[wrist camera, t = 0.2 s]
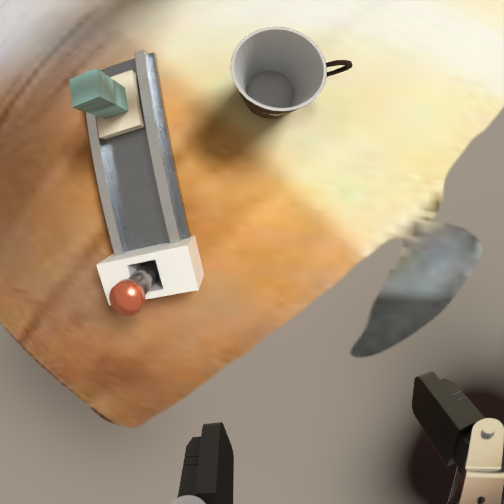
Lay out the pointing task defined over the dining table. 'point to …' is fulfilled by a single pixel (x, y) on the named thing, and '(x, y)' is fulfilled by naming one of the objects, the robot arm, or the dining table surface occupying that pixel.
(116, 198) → the rail bed
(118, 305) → the gauge plunger
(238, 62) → the coffee mug
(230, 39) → the dining table surface
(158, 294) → the end cabinet
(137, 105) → the carriage
